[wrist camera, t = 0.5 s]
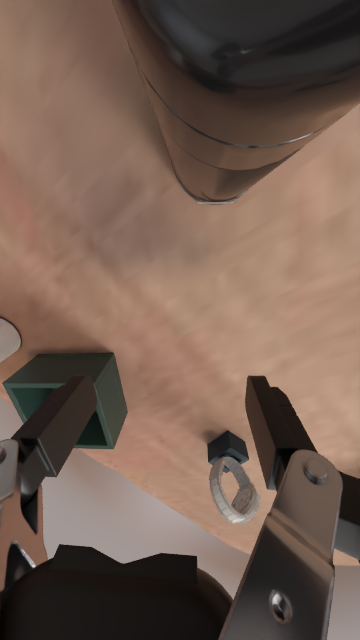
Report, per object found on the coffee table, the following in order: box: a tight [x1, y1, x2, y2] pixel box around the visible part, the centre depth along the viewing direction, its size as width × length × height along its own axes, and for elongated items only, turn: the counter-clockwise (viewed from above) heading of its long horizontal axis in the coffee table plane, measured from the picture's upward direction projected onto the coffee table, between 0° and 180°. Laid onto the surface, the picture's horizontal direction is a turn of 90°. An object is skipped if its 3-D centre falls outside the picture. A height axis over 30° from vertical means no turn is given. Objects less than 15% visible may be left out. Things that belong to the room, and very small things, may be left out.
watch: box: [207, 431, 261, 524], centre depth 33 cm, size 6×8×11 cm
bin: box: [2, 353, 128, 449], centre depth 32 cm, size 13×13×7 cm
